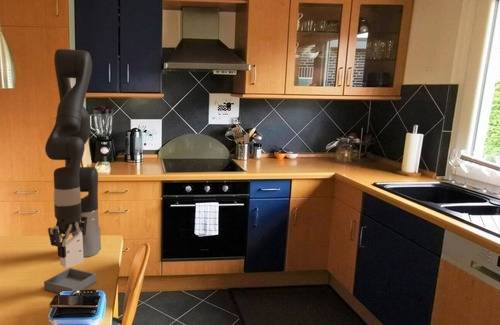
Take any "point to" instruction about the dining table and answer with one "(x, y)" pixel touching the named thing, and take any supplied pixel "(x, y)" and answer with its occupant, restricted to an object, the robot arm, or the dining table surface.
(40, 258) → the dining table surface
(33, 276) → the dining table surface
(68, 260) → the white angled block
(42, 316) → the dining table surface
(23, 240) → the dining table surface
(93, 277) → the gray square tray
